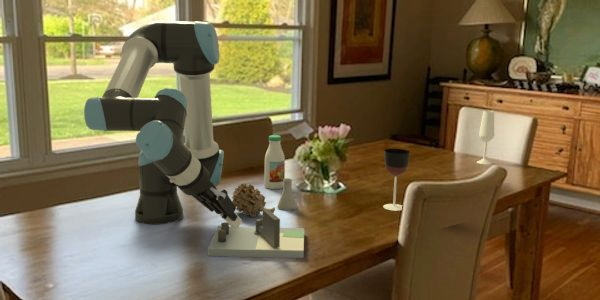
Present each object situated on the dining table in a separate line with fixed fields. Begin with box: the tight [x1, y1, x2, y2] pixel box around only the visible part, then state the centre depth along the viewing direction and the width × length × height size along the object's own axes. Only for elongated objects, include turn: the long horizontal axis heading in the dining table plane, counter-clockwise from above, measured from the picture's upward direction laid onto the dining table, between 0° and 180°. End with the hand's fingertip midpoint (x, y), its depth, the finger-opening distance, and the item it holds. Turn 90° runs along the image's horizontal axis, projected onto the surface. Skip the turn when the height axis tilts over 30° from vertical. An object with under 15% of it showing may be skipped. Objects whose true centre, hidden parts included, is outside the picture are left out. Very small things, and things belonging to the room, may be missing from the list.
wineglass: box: [382, 148, 411, 212], centre depth 206 cm, size 8×9×20 cm
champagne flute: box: [476, 110, 495, 165], centre depth 273 cm, size 7×7×24 cm
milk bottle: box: [263, 134, 286, 190], centre depth 228 cm, size 8×8×20 cm
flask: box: [276, 177, 299, 211], centre depth 204 cm, size 7×7×10 cm
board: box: [207, 221, 306, 259], centre depth 171 cm, size 26×18×5 cm
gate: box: [255, 208, 281, 248], centre depth 168 cm, size 15×2×8 cm, turn 24°
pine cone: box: [231, 183, 276, 218], centre depth 194 cm, size 22×10×10 cm, turn 44°
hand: (237, 224), depth 152 cm, fingers closed
